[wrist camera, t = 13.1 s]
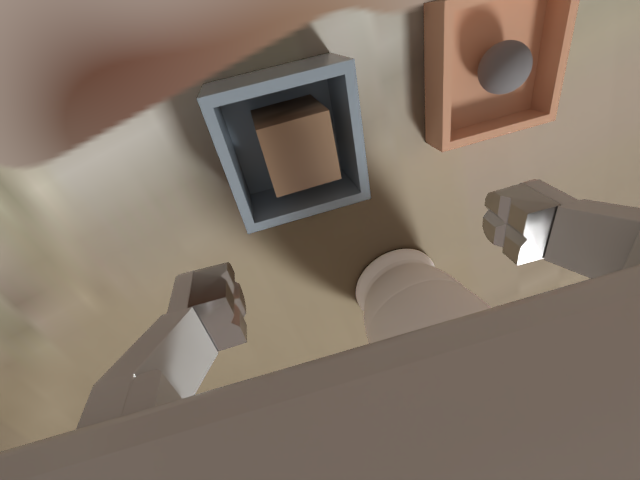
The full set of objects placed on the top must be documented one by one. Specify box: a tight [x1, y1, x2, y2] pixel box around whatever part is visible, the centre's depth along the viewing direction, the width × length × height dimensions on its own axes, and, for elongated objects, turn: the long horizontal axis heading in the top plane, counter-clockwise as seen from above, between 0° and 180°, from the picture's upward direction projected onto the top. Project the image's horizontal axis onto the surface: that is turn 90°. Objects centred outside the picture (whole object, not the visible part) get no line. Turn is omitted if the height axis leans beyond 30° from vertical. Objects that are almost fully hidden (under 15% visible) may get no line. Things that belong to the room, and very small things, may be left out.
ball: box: [477, 40, 533, 94], centre depth 22 cm, size 3×3×3 cm
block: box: [250, 94, 342, 198], centre depth 21 cm, size 4×4×5 cm
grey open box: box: [197, 53, 371, 234], centre depth 21 cm, size 8×8×5 cm
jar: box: [356, 249, 491, 344], centre depth 27 cm, size 11×10×15 cm
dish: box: [424, 0, 580, 152], centre depth 23 cm, size 9×9×2 cm
